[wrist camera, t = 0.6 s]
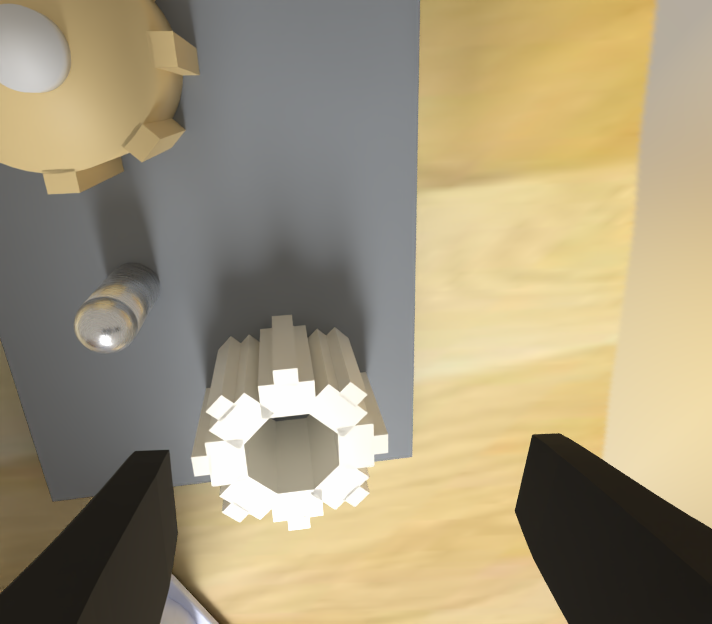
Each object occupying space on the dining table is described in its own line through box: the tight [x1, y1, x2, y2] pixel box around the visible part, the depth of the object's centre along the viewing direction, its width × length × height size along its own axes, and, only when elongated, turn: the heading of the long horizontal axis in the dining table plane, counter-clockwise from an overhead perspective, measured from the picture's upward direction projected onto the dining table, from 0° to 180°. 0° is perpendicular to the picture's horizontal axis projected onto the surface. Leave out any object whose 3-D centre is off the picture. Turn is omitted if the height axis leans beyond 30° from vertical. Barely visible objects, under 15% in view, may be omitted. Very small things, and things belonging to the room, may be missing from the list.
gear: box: [191, 315, 388, 531], centre depth 18 cm, size 6×6×4 cm
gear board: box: [0, 0, 420, 501], centre depth 15 cm, size 20×14×6 cm
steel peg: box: [74, 263, 160, 354], centre depth 15 cm, size 2×2×4 cm
